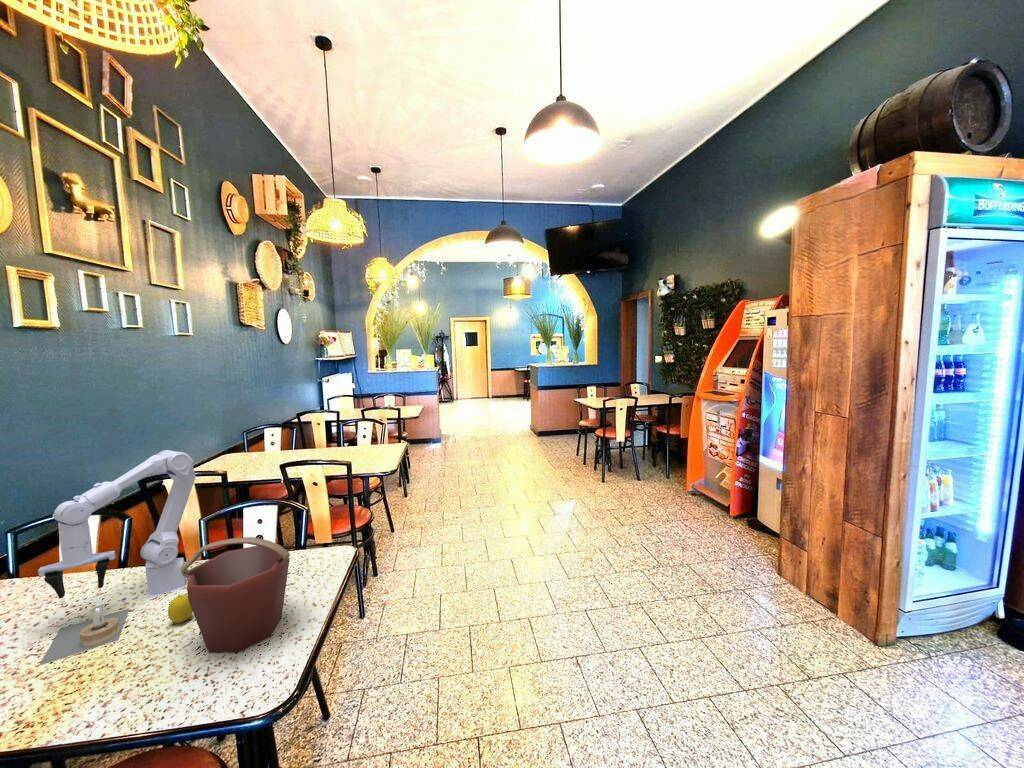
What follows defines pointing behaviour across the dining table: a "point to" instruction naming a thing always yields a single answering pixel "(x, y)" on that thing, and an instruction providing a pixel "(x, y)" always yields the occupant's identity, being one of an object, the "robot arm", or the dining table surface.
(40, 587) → the dining table surface
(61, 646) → the mat
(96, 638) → the maple bead
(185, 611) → the lemon
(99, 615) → the steel peg
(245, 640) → the bucket
